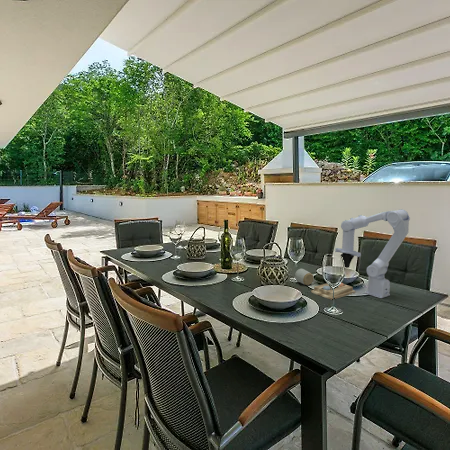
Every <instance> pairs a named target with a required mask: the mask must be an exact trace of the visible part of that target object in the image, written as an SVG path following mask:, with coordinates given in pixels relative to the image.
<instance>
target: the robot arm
mask: <svg viewBox="0 0 450 450" xmlns="http://www.w3.org/2000/svg"><path fill="white" fill-rule="evenodd" d="M382 220H383V221H384V222H388V224H389V225H390V226H391V227H392V229H393V233H392V235H391V237H390V238H389V240H388V241H387V243H386V244H385V246H384V248H383V249H382V251H381V252H380V254H379V255H378V257H377V258H376V259H375V260H374V261H372V263H371V264H370V265H368V266H367V267H366V274H367V276H368V281H367V283H368V284H367V290H366V291H364V292H363V293H364V294H366V295H368V296H369V295H370V296H372V297H375V298H378V299H383V298H387V297H389V296H391V294H390V290H391V287H390V286H391V282H390V280H389V279H387V278H385V274H386V273H387V272H388V267H389V265H390V261H391V259H392V258H393V256H394V255H395V253H396V252H397V250H398V248H400V246H401V244H402V243H403V242H404V240H405V238H406V237H407V235H408V234H409V225H410V220H411V217H410V215H409V213H408V211H406V210H405V209H403V208H402V209H397V210H396V209H395V210H386V211H382V212H379V213H376V214H372V215H369V216H367V215H362V214H360V215H358V216H357V217H351V218H349V219H348V220H347V219H345V220H343V221H342V222H341V224H340V228H341V230H342V246H341V248H339V247H336V248H335V250H334V251H335V253H341V254H340V257H341V256H342V257H343V259H342V261H343V260H344V262H343V265H344V268H346V269H347V268H350V265H351V263H352V260H353V259H354V257H357V258H360V257H362V256H361V255H362V253H361V252H359V251H356V250H354V247H355V245H354V244H355V231H356V230H358V229H363V228H364V227H368V226H369V224H371V223H374V222H378V221H382ZM342 257H341V258H342Z"/></svg>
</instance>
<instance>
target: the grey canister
mask: <svg viewBox="0 0 450 450" xmlns="http://www.w3.org/2000/svg"><path fill="white" fill-rule="evenodd" d="M294 278H295V281H296V282H297V283H300V284H302V285H305V286H310V285H311V284H312V283H314V284H315V283H316V282H317V280H316V279H314V275H313V274H312V273H311V272H310V271H308V270H306V269H304V268H299V269H297V270H296V271H295V273H294Z"/></svg>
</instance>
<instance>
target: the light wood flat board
mask: <svg viewBox="0 0 450 450" xmlns="http://www.w3.org/2000/svg"><path fill="white" fill-rule="evenodd" d="M323 286H329V285H328V284H327V283H324V284H319V285H316V286H313V289H312V290H311V293H312V294H314V295H317V296H320V297H323V298H325V299H328V300H331V301H333V300H336V299H340V298H342V297H347V296H350V295H353V294H356V290H354V288H353V286H351V285H347V284H344V283H343V286H342V287H339V286H338V287H337V288H335V289H334V298H335V299H333V290H332V288H330V290H328V291H327V290H324V289H323ZM352 293H353V294H352ZM349 294H350V295H349ZM346 295H347V296H346ZM332 299H333V300H332Z"/></svg>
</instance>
